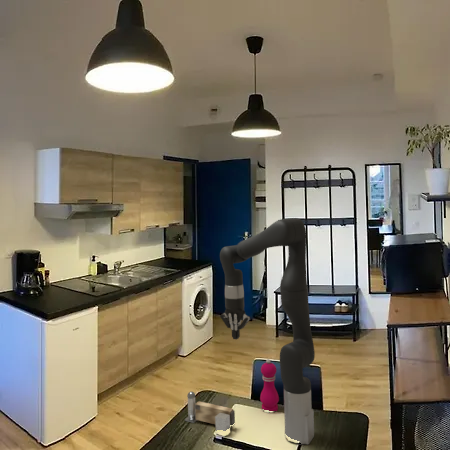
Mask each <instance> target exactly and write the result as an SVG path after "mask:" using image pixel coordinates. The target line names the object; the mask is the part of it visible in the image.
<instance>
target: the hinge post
mask: <svg viewBox="0 0 450 450" xmlns="http://www.w3.org/2000/svg"><path fill="white" fill-rule="evenodd" d="M195 404H196V393H195V392H194V391H189V392H188V393H187V410H188V413H187V415H188V416H187V417H186V418H184V421H185V422H189V423H192V424H195V423H196V422H197V421H198V420H196V414H195Z"/></svg>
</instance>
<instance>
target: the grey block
mask: <svg viewBox="0 0 450 450" xmlns="http://www.w3.org/2000/svg"><path fill="white" fill-rule="evenodd" d="M215 422H216V424H215V432H216V431H217V430H223V431H226V430H227V429H229V428H230V415H228V414H224V413H219V414H218V415H217V416H215ZM230 429H231V428H230Z"/></svg>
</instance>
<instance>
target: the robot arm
mask: <svg viewBox="0 0 450 450" xmlns="http://www.w3.org/2000/svg"><path fill="white" fill-rule="evenodd" d="M275 247H287V248H288V249H287V250H288V252H287V253H288V258H287V263H286V266H285V269H284V272H283V274H282V277H281V279H280V285H279V287H280V289H279V290H280V300H281V301H280V302H281V306H282V309H283V310H284V312H285V314H286V316H287V317H288V319H289V320H290V322H291V328H292V334H293V336H292V337H293V340H292V341H291V342H289V343H287V344H285V345H283V346H282V347H281V348H280V351H279V366H280V367H279V368H280V377H281V381H282V384H283V407H284V408H283V411H284V412H283V413H284V416H283V417H284V435H285V434H286V435H287V436H288V437H290V438H291V439H294V440H297V441H300V443H301V444H300V445H309V444H310V443H311V442H312V440H313V438H314V437H315V422H314V421H315V420H314V419H315V416H314V414H315V413H314V409H313V408H312V383H311V380H310V379H309V378H308V377H306V376H304V371H303V370H304V369H305V368H307V367H309V366H310V365H312V364H313V362H314V360H315V355H316V354H315V352H316V351H315V346H314V340H313V339H314V338H313V336H312V330H311V329H312V328H311V327H312V326H311V321H310V320H311V319H310V310H309V309H310V305H309V291H308V281H307V279H308V278H307V277H308V276H307V254H306V253H307V229H306V225H305V223H304V222H303V220H302V219H300V218H298V217H295V218H294V217H293V218H281V219H278V220H276V221H274V222H273V223H272V224H270V225H269V226H267V227H266V228H264V229H263V230H262V231H261V232H259V233H257V234H255V235H252V236H250V237H248V238H245V239H243V240H241V241H239V242H238V243H237V244H235V245H227V246H224V247H222V248H221V250H220V252H219V261H220V263H221V267H222V270H223V272H224V304H225V305H224V307H225V310H224V312H223V313H222V314H221V315H219V317H220V319H221V320H222V322H223V323H224V325H225V326H226V327H227V328H228V329H231V338H232V339H233V340H235V341H236V340H239V338H240V336H241V331H240V330H242V329H244V328H245V326H246V325H247V324H248V322H249V321H250V320H251V316H249V315H247V314H246V311H245V291H244V290H245V289H244V281H243V280H244V278H243V272H242V270H241V269H240V268H239V269H238V268H235V266H234V264H239V263H243V262H246V261H247V260H249V259H251V258H252V257H256V256H257V255H260V254H262V253H263V252H264V251H265V250H267V249H269V248H275Z"/></svg>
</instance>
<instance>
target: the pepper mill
mask: <svg viewBox="0 0 450 450" xmlns="http://www.w3.org/2000/svg"><path fill="white" fill-rule="evenodd" d="M260 372H261V374H262V376H261V377H262V380H263V388H262V390H261V392H260V397H259V400H260V402H261V410H262V409H264V410H269V411H276V412H278V409H279V407H278V405H279V404H278V403H279V401H280V397H279V394H278V391H277V389H276V387H275V380H276V374H277V367H276V365H275V364H274V363H273V362H271V359H269V358H267V359H266V360H265V362H264V363H263V364H261V367H260Z"/></svg>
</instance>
